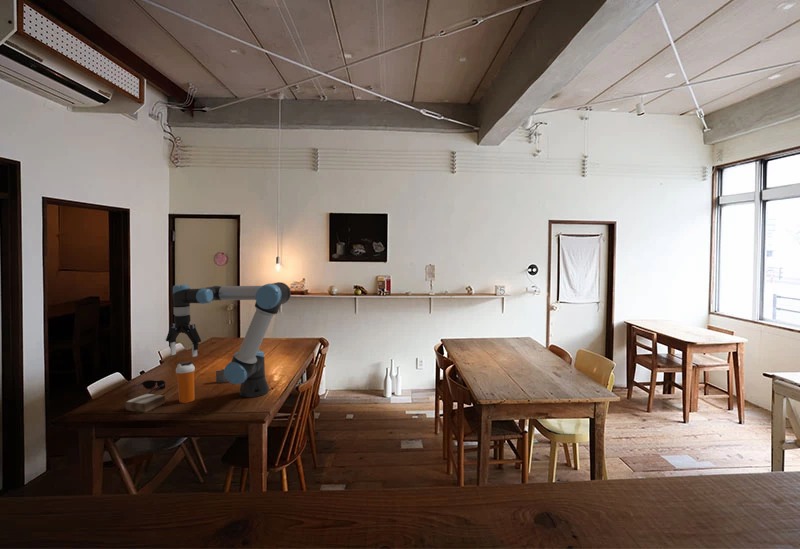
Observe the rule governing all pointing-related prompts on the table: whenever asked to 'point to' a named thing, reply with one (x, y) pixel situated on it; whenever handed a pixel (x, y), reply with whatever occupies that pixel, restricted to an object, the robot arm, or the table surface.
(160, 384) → the sunglasses
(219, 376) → the dark angular channel piece
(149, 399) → the block
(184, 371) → the shaker bottle
